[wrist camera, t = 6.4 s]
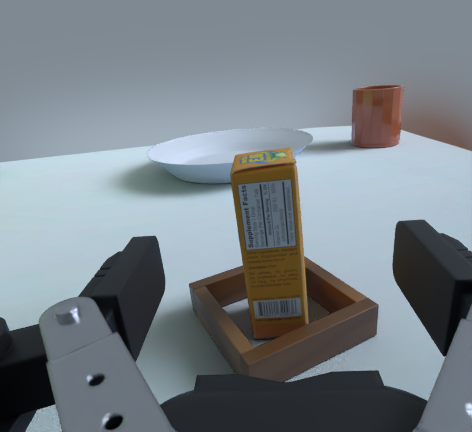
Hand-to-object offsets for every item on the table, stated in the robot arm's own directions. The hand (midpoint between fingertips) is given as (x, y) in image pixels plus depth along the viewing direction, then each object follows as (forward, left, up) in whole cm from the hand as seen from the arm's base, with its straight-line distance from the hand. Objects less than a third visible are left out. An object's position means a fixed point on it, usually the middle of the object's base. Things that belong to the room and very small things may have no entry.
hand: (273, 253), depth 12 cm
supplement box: (+6, -3, -8) cm, 11 cm away
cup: (+36, -42, -8) cm, 56 cm away
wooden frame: (+6, -3, -8) cm, 10 cm away
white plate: (+41, -17, -8) cm, 45 cm away
